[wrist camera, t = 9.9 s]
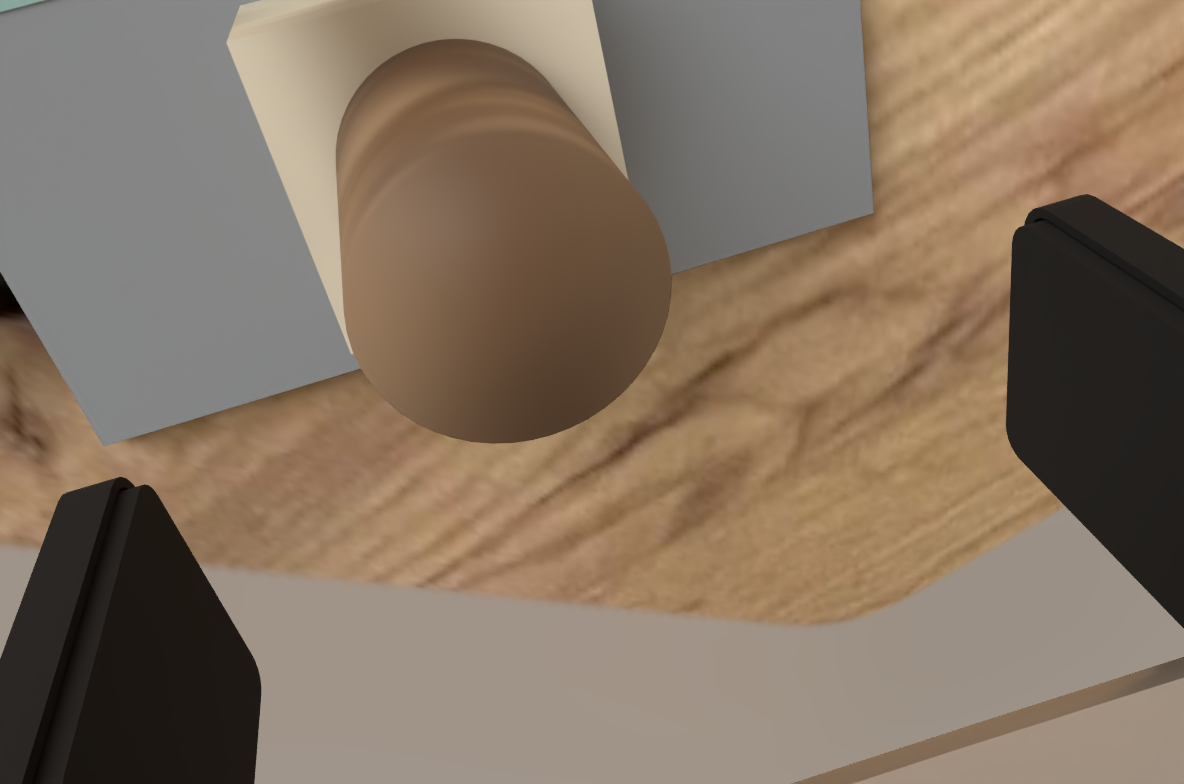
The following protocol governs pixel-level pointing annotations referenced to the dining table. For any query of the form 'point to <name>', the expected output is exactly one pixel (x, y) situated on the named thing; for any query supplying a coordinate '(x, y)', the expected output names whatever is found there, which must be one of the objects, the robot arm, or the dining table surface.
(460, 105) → the walnut drum
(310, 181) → the birch pedestal
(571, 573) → the dining table surface
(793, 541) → the dining table surface
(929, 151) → the dining table surface
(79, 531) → the robot arm
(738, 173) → the slate board
